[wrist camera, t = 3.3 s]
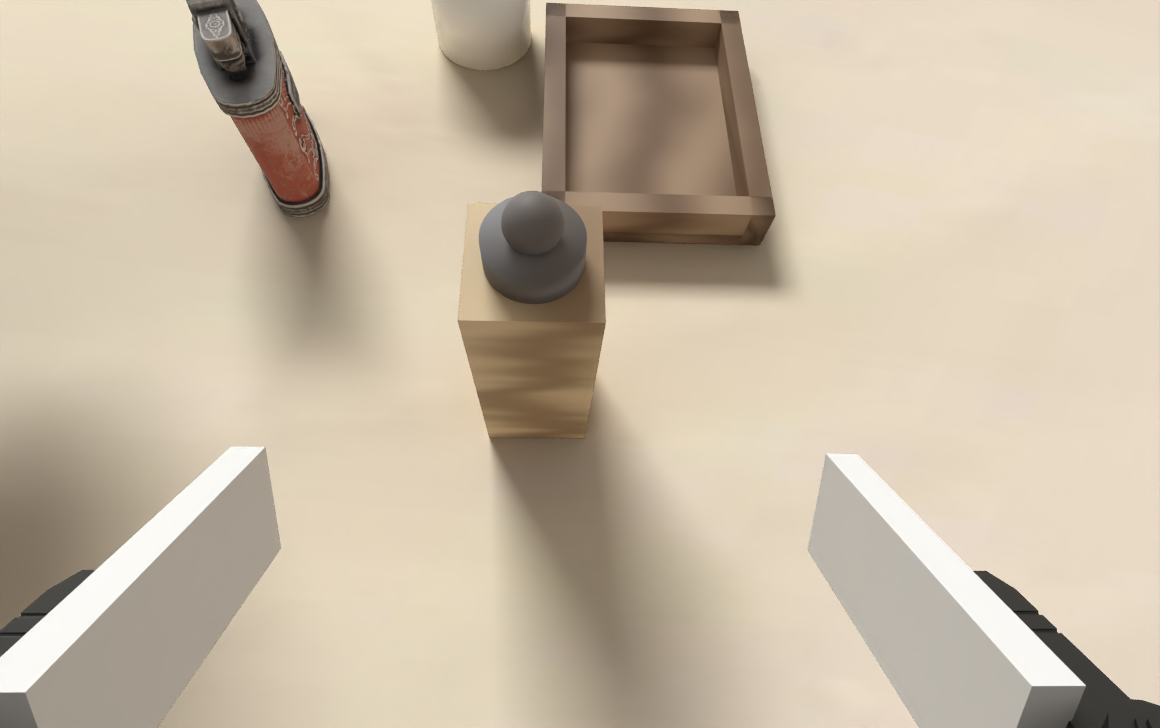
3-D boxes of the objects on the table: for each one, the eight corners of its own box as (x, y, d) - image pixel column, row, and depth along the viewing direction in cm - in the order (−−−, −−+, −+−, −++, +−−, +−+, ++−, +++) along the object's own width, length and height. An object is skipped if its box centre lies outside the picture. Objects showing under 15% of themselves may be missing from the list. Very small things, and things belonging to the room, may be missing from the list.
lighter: (340, 208, 33) (262, 41, 24) (276, 223, 32) (171, 58, 23) (312, 106, 36) (234, -76, 27) (253, 118, 35) (152, -64, 26)
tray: (541, 239, 33) (541, 209, 30) (546, 39, 39) (546, 2, 37) (759, 244, 33) (775, 215, 31) (727, 47, 40) (738, 11, 38)
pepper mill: (489, 437, 28) (443, 268, 15) (494, 352, 30) (457, 140, 17) (584, 438, 28) (615, 272, 16) (583, 353, 30) (609, 144, 18)
